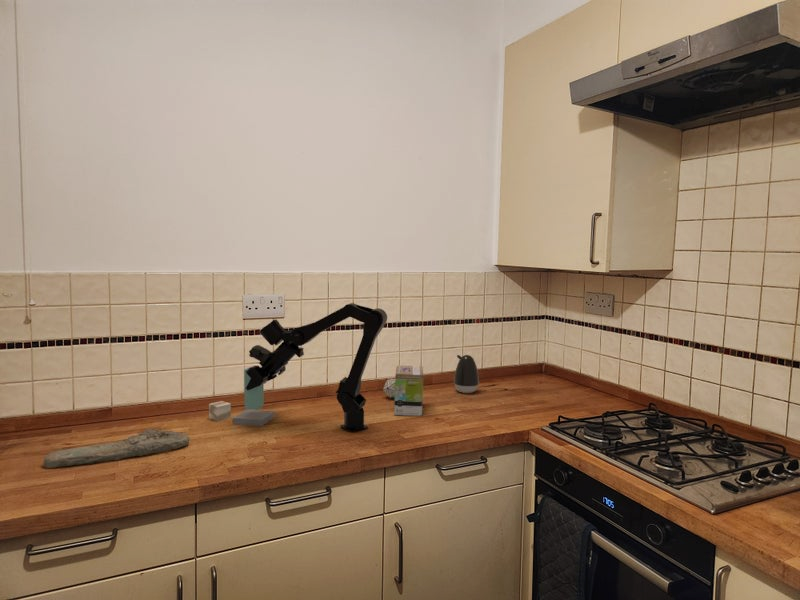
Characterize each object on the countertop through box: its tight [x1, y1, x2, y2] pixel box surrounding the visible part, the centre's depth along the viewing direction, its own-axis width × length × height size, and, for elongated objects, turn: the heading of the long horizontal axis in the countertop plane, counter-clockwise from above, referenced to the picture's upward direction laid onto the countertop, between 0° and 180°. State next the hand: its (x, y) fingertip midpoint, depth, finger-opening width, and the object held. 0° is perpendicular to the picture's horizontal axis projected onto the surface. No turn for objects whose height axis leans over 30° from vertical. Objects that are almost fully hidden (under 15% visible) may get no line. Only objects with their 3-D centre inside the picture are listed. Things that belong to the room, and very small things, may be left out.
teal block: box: [243, 366, 265, 410], centre depth 174 cm, size 4×4×13 cm
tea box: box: [393, 365, 424, 417], centre depth 189 cm, size 15×10×15 cm
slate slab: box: [232, 409, 276, 427], centre depth 175 cm, size 10×10×2 cm
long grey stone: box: [42, 427, 191, 469], centre depth 144 cm, size 35×5×10 cm
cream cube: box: [208, 400, 232, 422], centre depth 176 cm, size 5×5×5 cm
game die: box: [380, 377, 395, 400], centre depth 204 cm, size 9×8×10 cm
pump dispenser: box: [453, 354, 480, 394], centre depth 215 cm, size 10×10×15 cm
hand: (250, 387), depth 174 cm, fingers closed on teal block, 4 cm apart
